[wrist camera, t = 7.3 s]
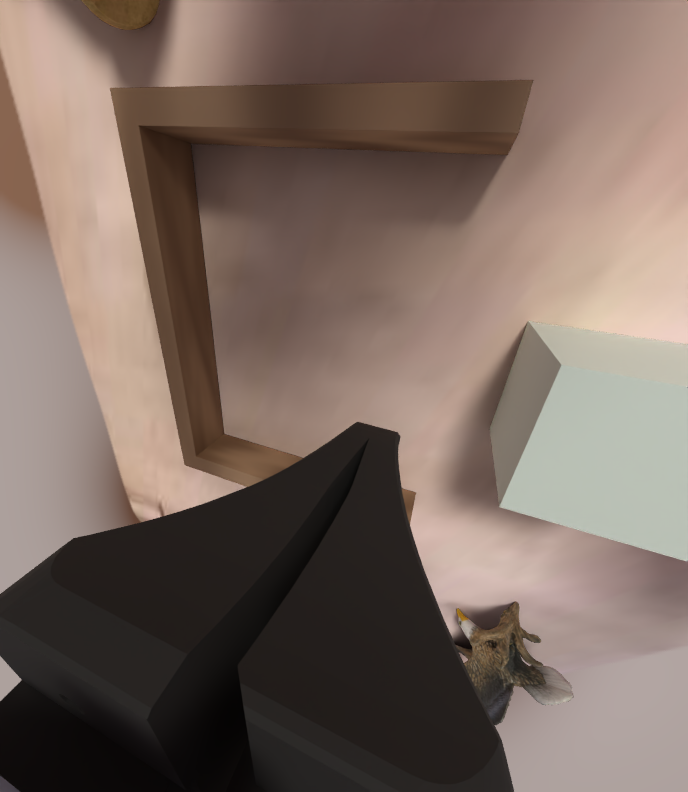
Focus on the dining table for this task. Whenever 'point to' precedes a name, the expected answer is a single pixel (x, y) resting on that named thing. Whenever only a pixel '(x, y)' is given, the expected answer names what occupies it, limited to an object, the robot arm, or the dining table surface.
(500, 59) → the dining table surface
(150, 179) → the wooden frame
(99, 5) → the gavel
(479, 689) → the eagle figurine
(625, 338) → the cube
